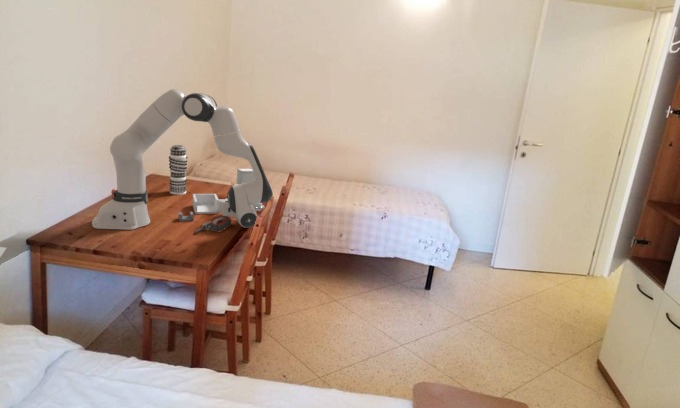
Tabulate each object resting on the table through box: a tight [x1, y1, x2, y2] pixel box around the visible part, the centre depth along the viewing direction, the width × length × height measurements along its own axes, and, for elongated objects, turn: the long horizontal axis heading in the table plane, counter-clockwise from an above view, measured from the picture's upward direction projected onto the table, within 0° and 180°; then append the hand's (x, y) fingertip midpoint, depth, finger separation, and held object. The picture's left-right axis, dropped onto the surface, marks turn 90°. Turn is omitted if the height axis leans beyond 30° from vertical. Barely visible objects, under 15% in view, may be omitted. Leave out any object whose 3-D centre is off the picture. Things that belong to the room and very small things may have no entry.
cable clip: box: [178, 211, 194, 222], centre depth 213 cm, size 6×4×3 cm, turn 111°
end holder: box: [192, 193, 220, 215], centre depth 229 cm, size 11×13×6 cm
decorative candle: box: [168, 144, 188, 196], centre depth 248 cm, size 9×9×25 cm
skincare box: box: [236, 168, 256, 184], centre depth 255 cm, size 8×6×15 cm
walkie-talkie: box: [193, 216, 232, 234], centre depth 205 cm, size 9×4×20 cm
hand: (237, 199), depth 222 cm, fingers open, 8 cm apart
